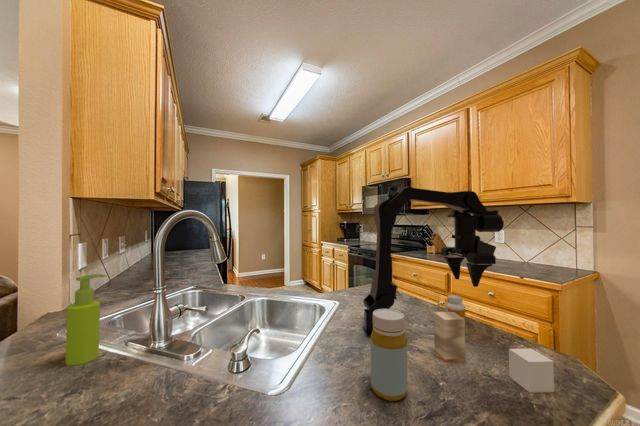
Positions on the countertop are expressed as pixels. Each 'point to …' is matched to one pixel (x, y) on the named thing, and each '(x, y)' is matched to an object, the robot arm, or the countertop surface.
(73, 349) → the soap dispenser
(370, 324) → the robot arm
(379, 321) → the bottle
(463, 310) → the supplement bottle
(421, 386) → the countertop surface
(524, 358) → the grey block
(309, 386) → the countertop surface
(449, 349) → the birch block
